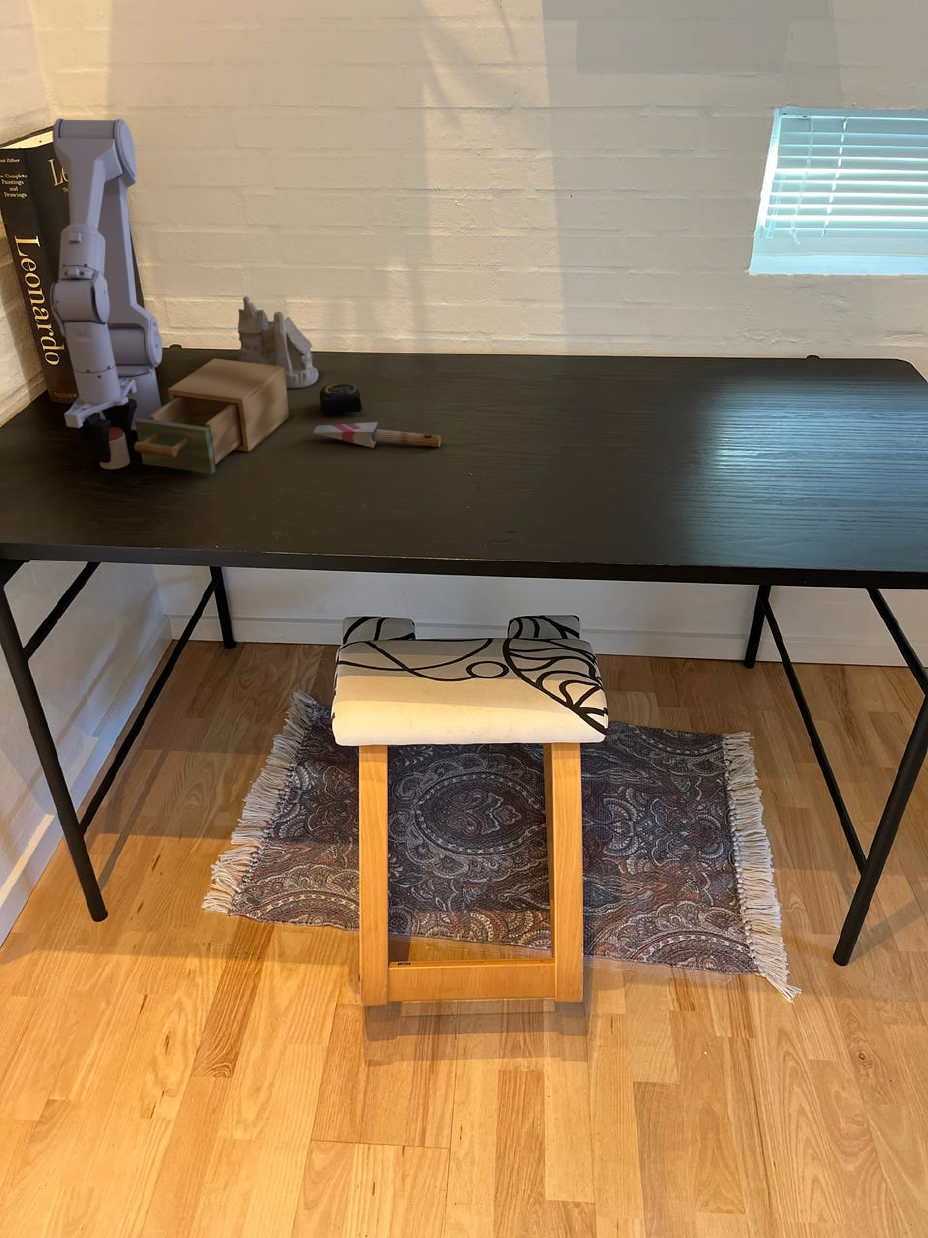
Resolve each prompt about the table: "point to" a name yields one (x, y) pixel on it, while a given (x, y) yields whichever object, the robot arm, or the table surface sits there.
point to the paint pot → (117, 450)
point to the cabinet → (241, 394)
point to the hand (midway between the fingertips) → (113, 454)
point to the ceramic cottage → (275, 345)
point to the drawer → (189, 434)
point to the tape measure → (340, 399)
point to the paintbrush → (374, 435)
